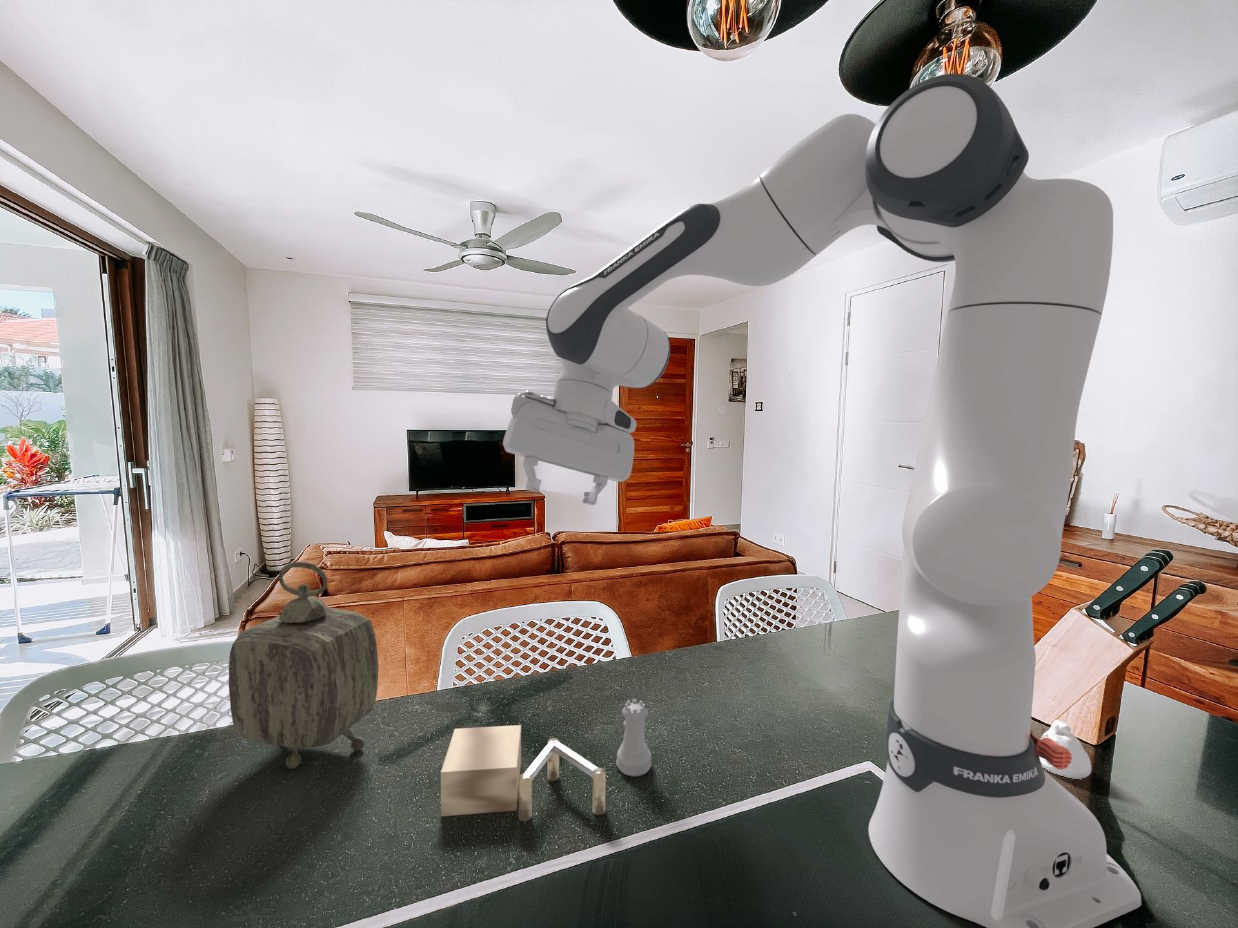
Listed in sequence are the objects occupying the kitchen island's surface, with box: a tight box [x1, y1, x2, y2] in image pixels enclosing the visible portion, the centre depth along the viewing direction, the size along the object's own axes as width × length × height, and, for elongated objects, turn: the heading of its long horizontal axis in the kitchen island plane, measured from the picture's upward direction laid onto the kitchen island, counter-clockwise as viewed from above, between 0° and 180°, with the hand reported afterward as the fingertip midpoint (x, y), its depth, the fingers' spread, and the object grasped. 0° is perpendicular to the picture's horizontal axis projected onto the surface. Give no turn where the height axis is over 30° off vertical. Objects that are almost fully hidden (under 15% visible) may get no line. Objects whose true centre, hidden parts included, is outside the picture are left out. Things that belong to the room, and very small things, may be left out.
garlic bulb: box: [1039, 719, 1092, 780], centre depth 65 cm, size 6×6×5 cm
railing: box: [518, 737, 607, 822], centre depth 59 cm, size 9×7×4 cm
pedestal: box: [440, 724, 522, 817], centre depth 60 cm, size 8×8×5 cm
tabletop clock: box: [228, 561, 379, 770], centre depth 64 cm, size 14×9×25 cm, turn 77°
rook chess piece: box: [615, 698, 653, 778], centre depth 64 cm, size 4×4×8 cm
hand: (561, 497), depth 76 cm, fingers open, 8 cm apart
